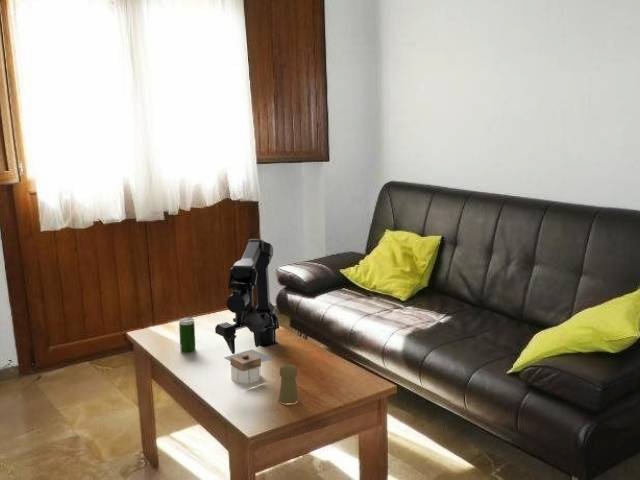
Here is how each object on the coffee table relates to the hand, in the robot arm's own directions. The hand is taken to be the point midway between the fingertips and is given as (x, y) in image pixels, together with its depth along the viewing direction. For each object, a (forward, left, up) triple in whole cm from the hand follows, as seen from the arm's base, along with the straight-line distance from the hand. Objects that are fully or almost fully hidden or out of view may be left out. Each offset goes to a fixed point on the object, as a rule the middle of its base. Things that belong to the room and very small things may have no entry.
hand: (245, 350), depth 212 cm
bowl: (0, 0, -10) cm, 10 cm away
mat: (-10, -13, -10) cm, 19 cm away
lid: (0, 0, -5) cm, 5 cm away
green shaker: (0, +22, -10) cm, 24 cm away
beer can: (+2, -33, -10) cm, 35 cm away
